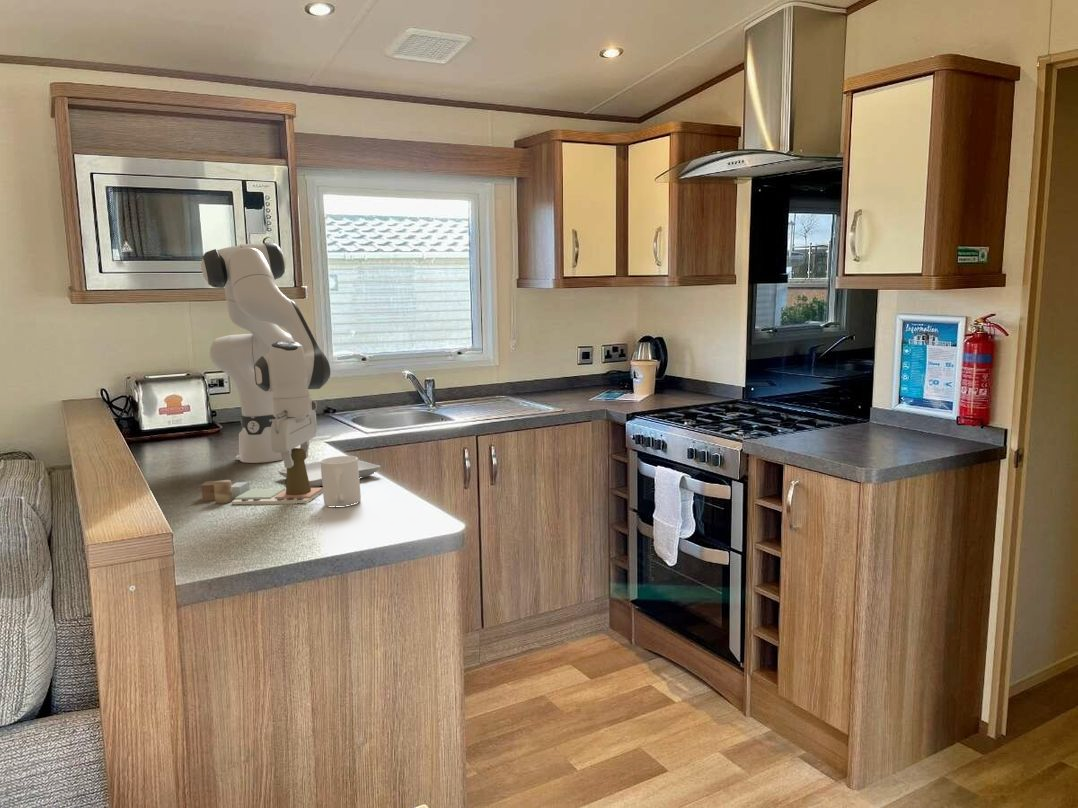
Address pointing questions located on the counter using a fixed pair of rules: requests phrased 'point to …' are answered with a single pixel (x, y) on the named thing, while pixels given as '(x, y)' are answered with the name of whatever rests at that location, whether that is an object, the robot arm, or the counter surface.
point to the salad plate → (316, 476)
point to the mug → (340, 480)
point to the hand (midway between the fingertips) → (296, 462)
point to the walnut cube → (208, 490)
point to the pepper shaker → (297, 474)
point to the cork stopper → (223, 491)
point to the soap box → (239, 488)
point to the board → (275, 496)
